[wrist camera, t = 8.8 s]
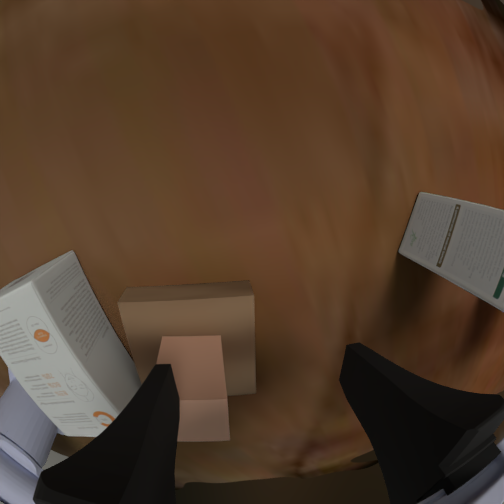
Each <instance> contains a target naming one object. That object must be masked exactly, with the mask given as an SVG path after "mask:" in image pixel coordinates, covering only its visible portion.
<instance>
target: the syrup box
mask: <svg viewBox="0 0 504 504" xmlns="http://www.w3.org/2000/svg"><path fill="white" fill-rule="evenodd" d="M398 252H399V253H400V254H401V255H403V256H405V257H407V258H409V259H411V260H413V261H414V262H416V263H418V264H420V265H421V266H423V267H425V268H427V269H429V270H431V271H432V272H434V273H436V274H438V275H440V276H441V277H443V278H445V279H447V280H449V281H450V282H452V283H454V284H456V285H457V286H459V287H461V288H462V289H464V290H466V291H468V292H469V293H471V294H473V295H475V296H477V297H478V298H480V299H482V300H484V301H485V302H487V303H489V304H490V305H492V306H494V307H496V308H497V309H499V310H501V311H502V312H504V210H502V209H497V208H494V207H490V206H486V205H482V204H478V203H473V202H469V201H465V200H460V199H455V198H451V197H446V196H441V195H436V194H431V193H425V192H420V193H419V195H418V197H417V200H416V203H415V206H414V208H413V211H412V214H411V217H410V220H409V223H408V226H407V229H406V231H405V234H404V237H403V240H402V242H401V245H400V248H399V251H398Z"/></svg>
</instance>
